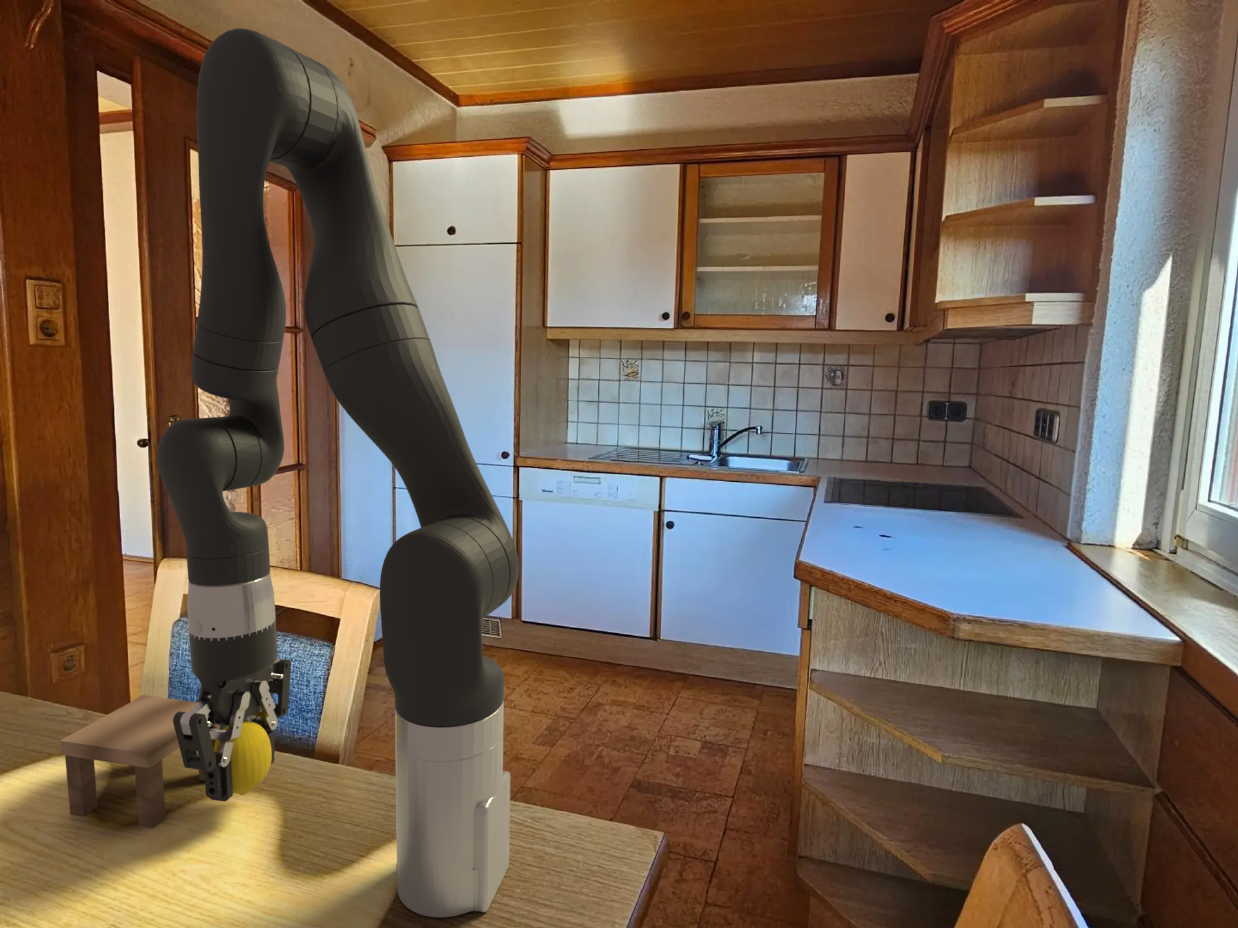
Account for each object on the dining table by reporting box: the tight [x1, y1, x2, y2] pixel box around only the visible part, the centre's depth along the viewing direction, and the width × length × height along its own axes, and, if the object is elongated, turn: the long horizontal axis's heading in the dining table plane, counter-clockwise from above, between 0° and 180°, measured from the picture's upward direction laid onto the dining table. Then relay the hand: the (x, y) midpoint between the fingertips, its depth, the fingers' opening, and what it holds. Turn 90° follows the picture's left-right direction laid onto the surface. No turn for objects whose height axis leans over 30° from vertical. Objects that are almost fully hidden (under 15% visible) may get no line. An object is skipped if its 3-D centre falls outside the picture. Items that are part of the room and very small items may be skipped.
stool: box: [59, 694, 221, 829], centre depth 76 cm, size 10×10×8 cm
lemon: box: [214, 719, 272, 796], centre depth 73 cm, size 6×6×8 cm
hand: (242, 779), depth 73 cm, fingers closed on lemon, 5 cm apart
